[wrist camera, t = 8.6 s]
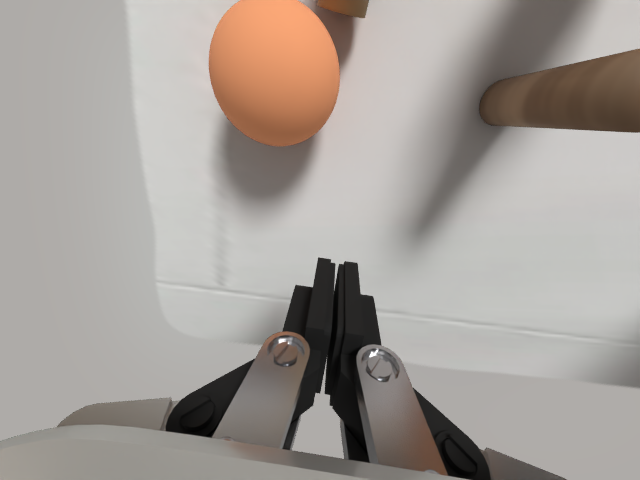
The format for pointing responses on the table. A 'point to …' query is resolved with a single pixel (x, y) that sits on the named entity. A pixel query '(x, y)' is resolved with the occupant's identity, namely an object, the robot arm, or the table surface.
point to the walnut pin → (570, 96)
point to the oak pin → (346, 6)
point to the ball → (274, 70)
